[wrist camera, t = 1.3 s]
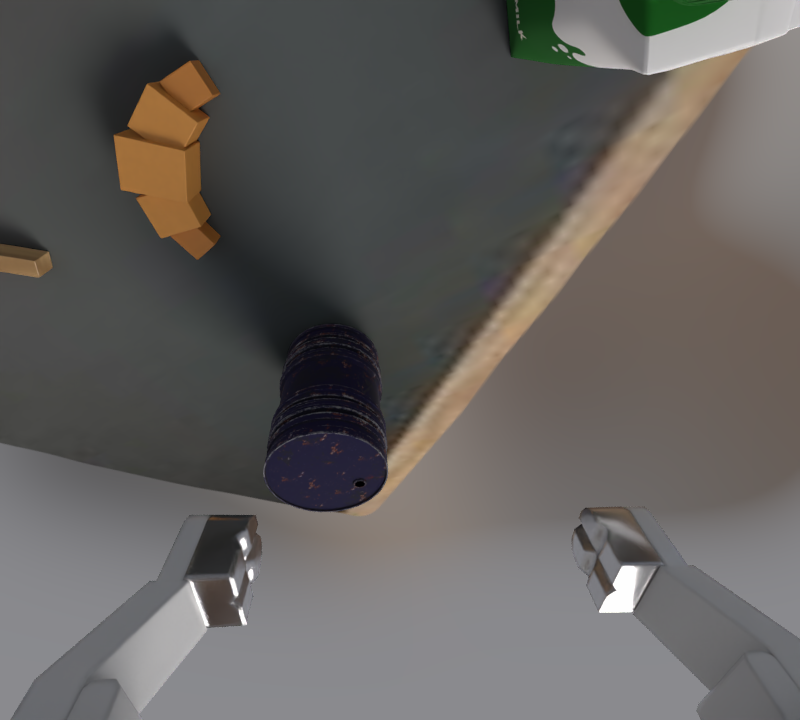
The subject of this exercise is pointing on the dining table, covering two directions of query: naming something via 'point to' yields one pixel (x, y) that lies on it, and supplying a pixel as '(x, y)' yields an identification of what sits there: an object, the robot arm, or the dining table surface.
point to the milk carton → (643, 30)
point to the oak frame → (24, 261)
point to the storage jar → (328, 423)
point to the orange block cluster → (170, 156)
